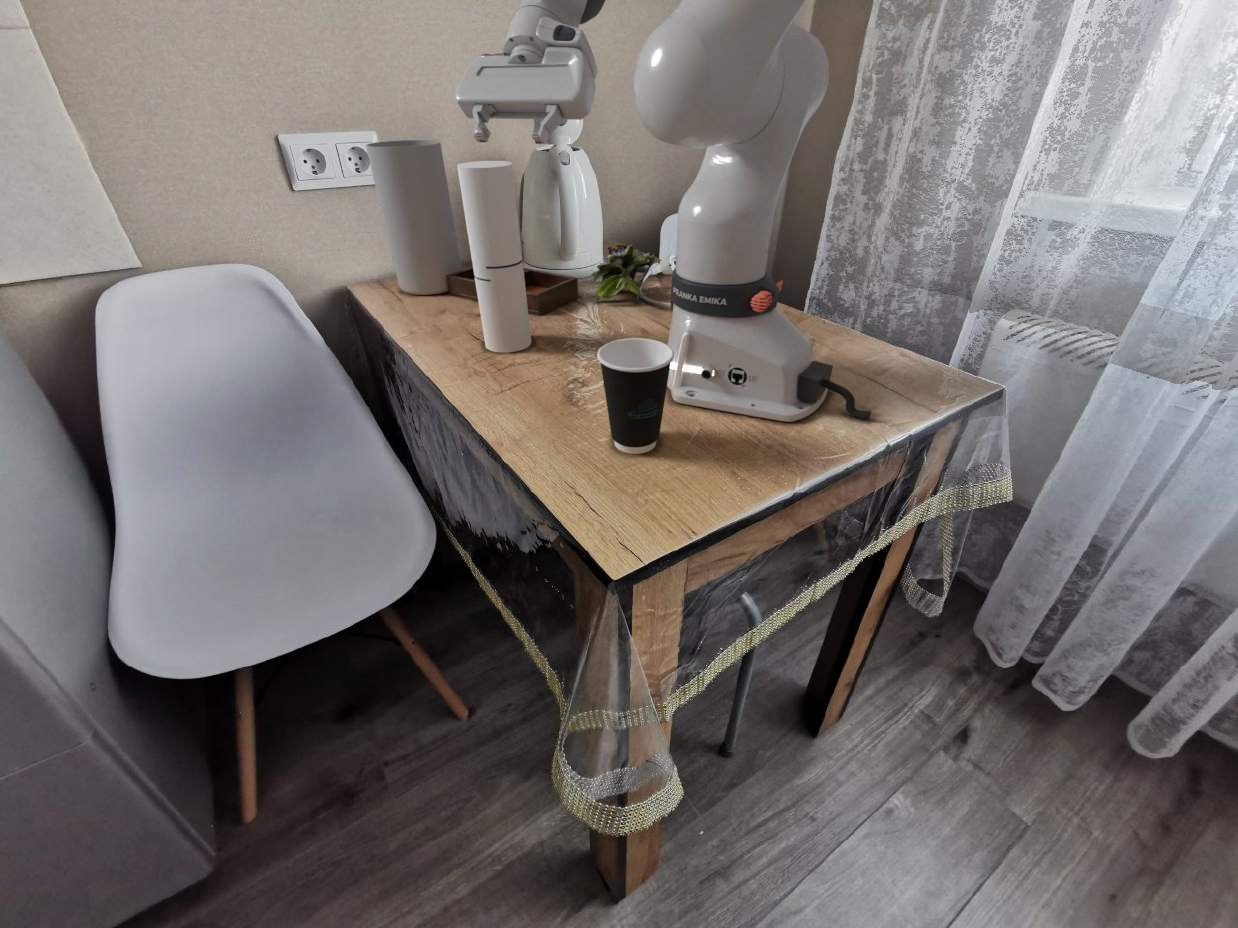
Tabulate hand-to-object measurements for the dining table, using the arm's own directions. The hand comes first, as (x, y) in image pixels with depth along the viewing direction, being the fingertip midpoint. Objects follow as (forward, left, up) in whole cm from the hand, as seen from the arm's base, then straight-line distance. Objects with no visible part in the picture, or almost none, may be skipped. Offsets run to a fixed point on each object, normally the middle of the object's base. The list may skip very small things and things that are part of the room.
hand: (508, 140), depth 77 cm
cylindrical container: (-1, +6, -27) cm, 28 cm away
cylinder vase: (+32, -8, -27) cm, 43 cm away
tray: (+14, -12, -27) cm, 33 cm away
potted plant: (-5, -22, -27) cm, 35 cm away
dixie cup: (-33, +20, -27) cm, 48 cm away
